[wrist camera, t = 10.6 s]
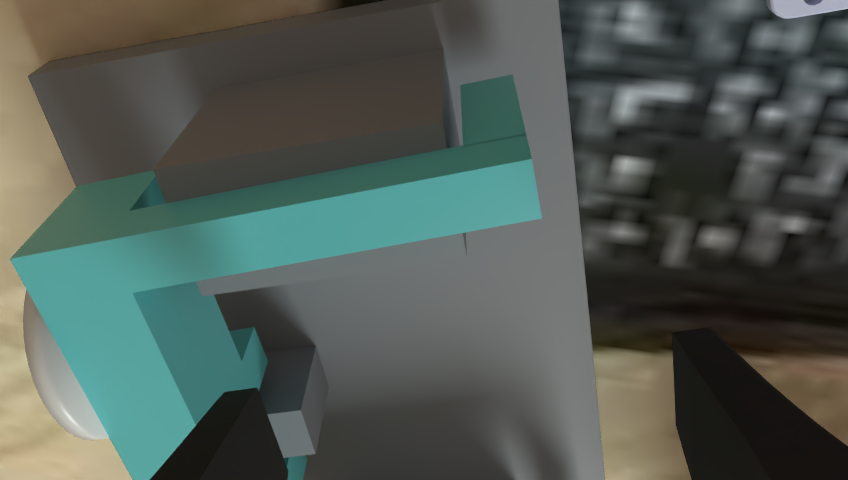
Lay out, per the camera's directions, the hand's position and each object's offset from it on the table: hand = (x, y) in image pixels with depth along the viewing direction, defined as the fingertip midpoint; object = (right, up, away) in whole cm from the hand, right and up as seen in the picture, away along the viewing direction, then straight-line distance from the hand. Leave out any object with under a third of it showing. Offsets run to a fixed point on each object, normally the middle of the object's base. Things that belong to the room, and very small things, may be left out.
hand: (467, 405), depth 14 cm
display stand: (-2, 0, +11) cm, 11 cm away
